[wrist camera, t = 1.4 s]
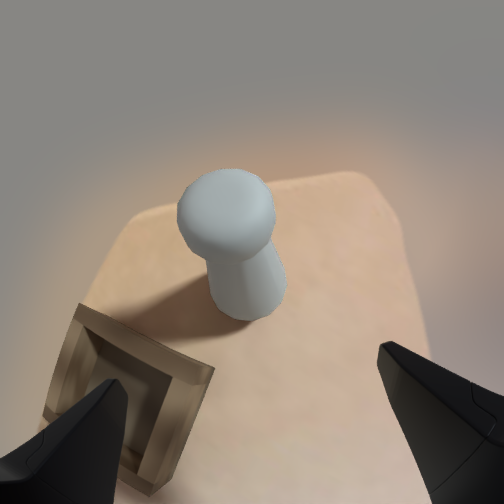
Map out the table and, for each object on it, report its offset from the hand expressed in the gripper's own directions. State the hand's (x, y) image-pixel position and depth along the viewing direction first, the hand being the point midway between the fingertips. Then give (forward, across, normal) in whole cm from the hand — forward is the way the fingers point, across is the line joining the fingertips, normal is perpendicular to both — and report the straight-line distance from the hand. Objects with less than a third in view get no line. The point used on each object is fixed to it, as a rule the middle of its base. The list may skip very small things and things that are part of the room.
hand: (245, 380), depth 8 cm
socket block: (+8, +11, +10) cm, 17 cm away
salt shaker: (+14, 0, +4) cm, 15 cm away
